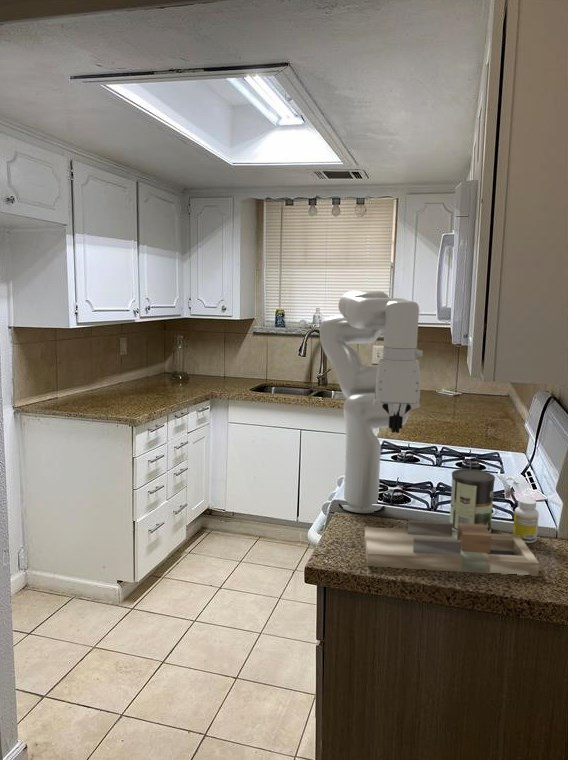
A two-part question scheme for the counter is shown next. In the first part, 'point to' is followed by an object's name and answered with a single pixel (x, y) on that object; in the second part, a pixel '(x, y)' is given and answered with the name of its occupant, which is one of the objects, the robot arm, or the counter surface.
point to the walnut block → (474, 538)
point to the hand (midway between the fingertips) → (395, 431)
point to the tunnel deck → (445, 550)
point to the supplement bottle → (526, 520)
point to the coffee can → (471, 498)
